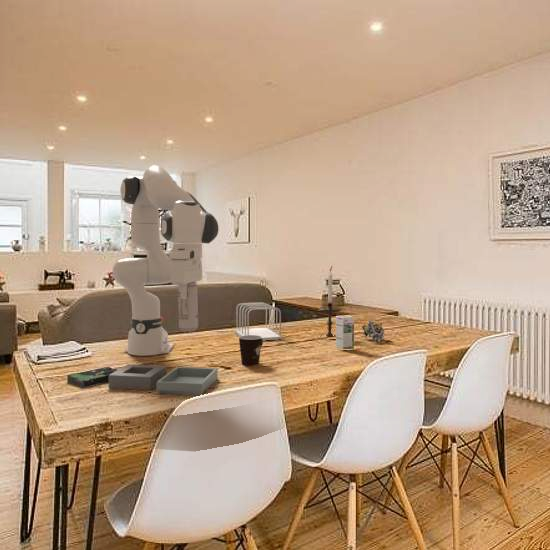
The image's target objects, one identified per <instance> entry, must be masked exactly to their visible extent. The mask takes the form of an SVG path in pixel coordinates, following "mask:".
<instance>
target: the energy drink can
mask: <svg viewBox="0 0 550 550" xmlns="http://www.w3.org/2000/svg"><path fill="white" fill-rule="evenodd" d="M195 283H196V284H195ZM186 289H187V293H188V297H187V298H186V299H181V293H180V290H179V286H178V287H177V304H178V307H177V308H178V310H177V311H178V313H177V314H178V328H179V329H180V331H181V332H193V331H197V328H198V327H199V295H198V294H199V293H198V291H199V290H198V285H197V281H196V282H192V283H188V284H187V287H186Z"/></svg>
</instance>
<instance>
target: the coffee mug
mask: <svg viewBox="0 0 550 550" xmlns="http://www.w3.org/2000/svg"><path fill="white" fill-rule="evenodd" d="M238 340H239V351H240V360H241V365H242V364H243V366H247V367H253V365H255V366H257V365H259V364H260V358H261V349H262V346H263V344H264V341H263V340H262V337H261V336H257V335H245V336H238Z"/></svg>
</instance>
